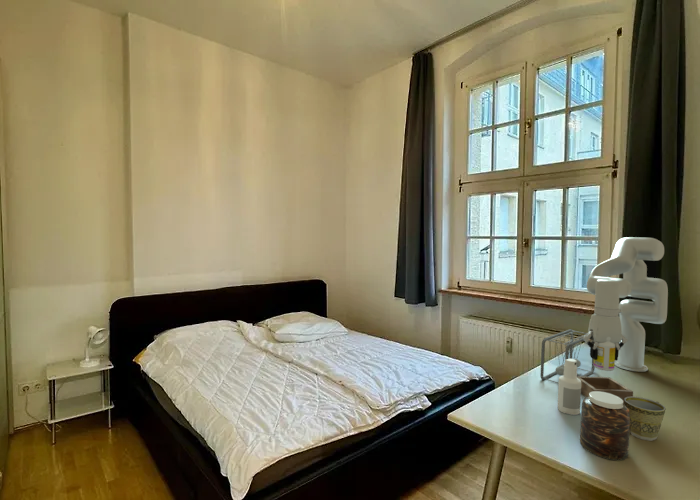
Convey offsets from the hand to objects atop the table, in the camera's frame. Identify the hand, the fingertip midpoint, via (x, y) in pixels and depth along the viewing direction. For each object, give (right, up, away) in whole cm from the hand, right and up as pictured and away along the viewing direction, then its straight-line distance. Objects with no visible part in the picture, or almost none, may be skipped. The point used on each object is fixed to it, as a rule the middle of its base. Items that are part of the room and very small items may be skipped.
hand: (603, 358), depth 143 cm
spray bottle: (-20, -15, -11) cm, 27 cm away
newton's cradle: (-1, -14, +21) cm, 25 cm away
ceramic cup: (-5, -16, -26) cm, 31 cm away
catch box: (0, -15, +1) cm, 15 cm away
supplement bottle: (0, -4, 0) cm, 4 cm away
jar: (-23, -16, -34) cm, 44 cm away
